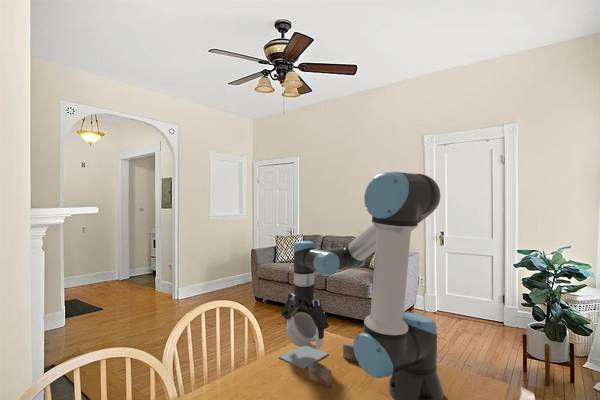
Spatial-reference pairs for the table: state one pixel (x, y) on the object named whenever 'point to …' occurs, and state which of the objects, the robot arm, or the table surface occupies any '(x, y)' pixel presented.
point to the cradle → (325, 375)
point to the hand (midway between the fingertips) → (303, 342)
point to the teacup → (301, 330)
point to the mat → (303, 356)
